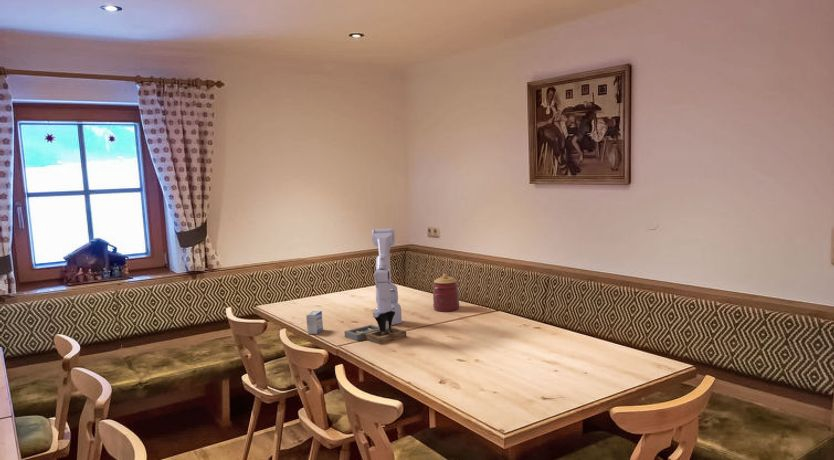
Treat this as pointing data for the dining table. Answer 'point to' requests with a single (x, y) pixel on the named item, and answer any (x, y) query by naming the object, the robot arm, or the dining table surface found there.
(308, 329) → the medicine box
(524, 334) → the dining table surface
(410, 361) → the dining table surface
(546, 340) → the dining table surface
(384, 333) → the cell
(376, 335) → the shallow wooden tray
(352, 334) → the grey tray with pegs
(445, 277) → the canister
